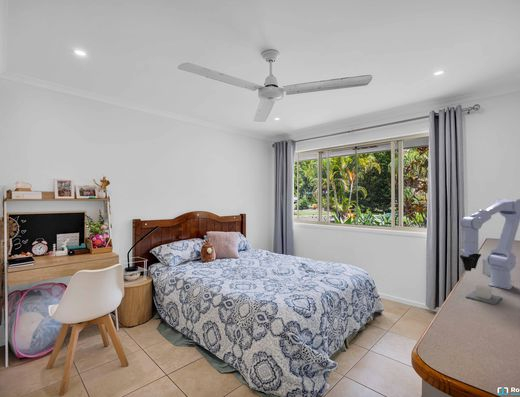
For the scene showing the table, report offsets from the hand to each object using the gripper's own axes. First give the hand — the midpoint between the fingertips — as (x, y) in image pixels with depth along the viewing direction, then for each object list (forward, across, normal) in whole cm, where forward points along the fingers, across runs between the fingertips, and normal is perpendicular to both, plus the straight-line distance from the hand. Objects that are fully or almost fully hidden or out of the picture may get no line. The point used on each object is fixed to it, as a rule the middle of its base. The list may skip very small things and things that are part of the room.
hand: (470, 269), depth 132 cm
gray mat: (+9, +10, +8) cm, 16 cm away
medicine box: (+10, -37, 0) cm, 38 cm away
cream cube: (+9, +10, +8) cm, 15 cm away
